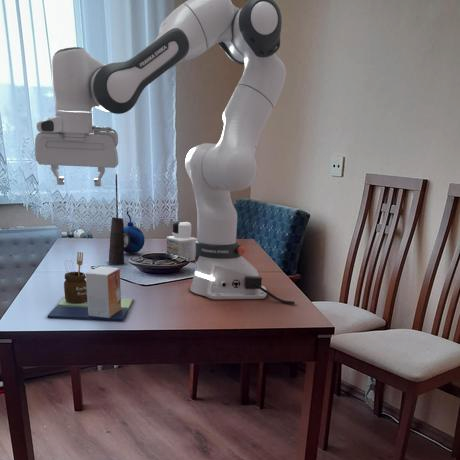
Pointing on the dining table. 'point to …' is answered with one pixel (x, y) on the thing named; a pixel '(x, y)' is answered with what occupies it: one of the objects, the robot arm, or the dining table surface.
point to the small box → (103, 291)
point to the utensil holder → (75, 284)
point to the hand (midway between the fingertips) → (79, 185)
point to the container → (182, 241)
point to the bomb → (133, 238)
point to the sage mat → (124, 303)
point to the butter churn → (116, 238)
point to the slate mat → (83, 314)
